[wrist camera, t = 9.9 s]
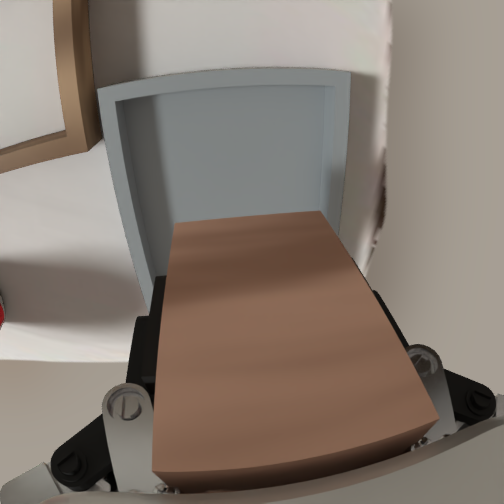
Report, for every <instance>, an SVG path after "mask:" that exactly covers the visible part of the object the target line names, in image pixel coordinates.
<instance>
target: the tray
mask: <svg viewBox="0 0 504 504" xmlns="http://www.w3.org/2000/svg"><path fill="white" fill-rule="evenodd" d="M350 85H351V72H349V71H342V70H335V69H322V68H298V67H256V68H232V69H216V70H204V71H194V72H185V73H177V74H169V75H162V76H155V77H149V78H143V79H137V80H132V81H127V82H121V83H117V84H112V85H108V86H105V87H102V88H99V89H97V92H98V99H99V107H100V114H101V120H102V127H103V133H104V139H105V144H106V150H107V155H108V160H109V166H110V171H111V175H112V180H113V185H114V190H115V194H116V198H117V203H118V207H119V211H120V215H121V219H122V223H123V227H124V231H125V235H126V239H127V243H128V246H129V250H130V254H131V257H132V261H133V264H134V268H135V271H136V274H137V278H138V281H139V284H140V288H141V291H142V294H143V297H144V300H145V303H146V306H147V309H148V312H150V306H151V300H152V294H153V288H154V282H155V277H156V276H164V275H167V270H168V263H169V256H170V250H171V243H172V237H173V231H174V224H175V223H180V222H190V221H200V220H210V219H220V218H231V217H242V216H254V215H266V214H278V213H291V212H305V211H319V210H320V211H321V212H322V214H323V215H324V217H325V218H326V220H327V221H328V223H329V224H330V226H331V227H332V229H333V230H334V232H335V233H336V235H337V236H338V233H339V225H340V217H341V208H342V199H343V189H344V179H345V168H346V156H347V143H348V128H349V109H350Z"/></svg>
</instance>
